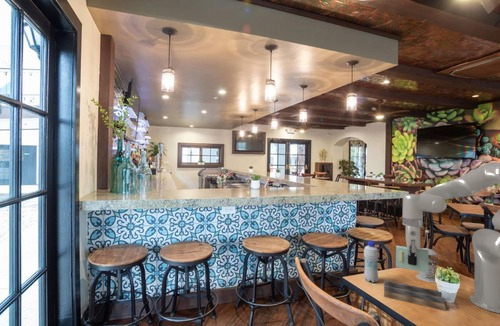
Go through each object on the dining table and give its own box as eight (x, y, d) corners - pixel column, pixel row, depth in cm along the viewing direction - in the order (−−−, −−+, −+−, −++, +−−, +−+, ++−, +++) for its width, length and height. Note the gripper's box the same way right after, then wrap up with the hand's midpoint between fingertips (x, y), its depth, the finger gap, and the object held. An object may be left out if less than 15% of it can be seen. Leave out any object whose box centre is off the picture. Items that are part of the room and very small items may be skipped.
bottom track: (440, 296, 112) (440, 289, 112) (445, 310, 102) (445, 302, 102) (384, 285, 123) (384, 278, 123) (384, 296, 112) (384, 288, 112)
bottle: (375, 278, 130) (375, 239, 130) (380, 284, 124) (380, 243, 124) (361, 277, 131) (361, 239, 131) (366, 283, 124) (366, 243, 124)
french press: (411, 275, 134) (411, 228, 134) (427, 272, 137) (427, 226, 137) (429, 283, 124) (429, 233, 124) (446, 280, 128) (446, 231, 128)
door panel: (427, 270, 111) (427, 249, 111) (428, 273, 108) (428, 252, 108) (395, 264, 116) (396, 245, 116) (396, 267, 113) (396, 247, 113)
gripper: (424, 227, 103) (424, 271, 103) (420, 219, 118) (419, 258, 118) (403, 224, 107) (403, 268, 107) (401, 217, 121) (401, 255, 121)
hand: (411, 262), depth 112 cm, fingers closed on door panel, 3 cm apart
